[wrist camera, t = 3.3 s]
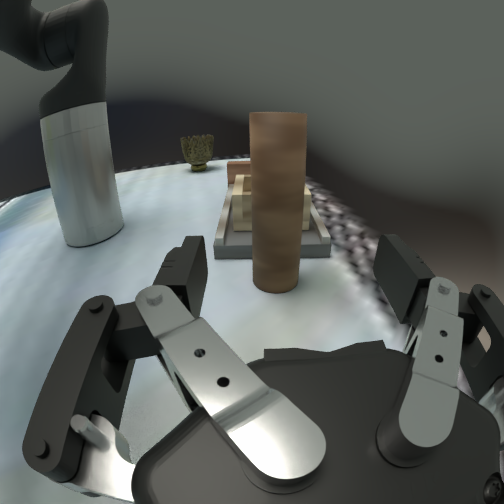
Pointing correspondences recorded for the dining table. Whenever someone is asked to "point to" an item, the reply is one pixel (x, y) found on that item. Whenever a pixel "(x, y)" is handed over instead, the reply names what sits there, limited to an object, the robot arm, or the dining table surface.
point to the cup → (197, 151)
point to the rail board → (240, 242)
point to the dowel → (277, 197)
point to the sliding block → (243, 204)
